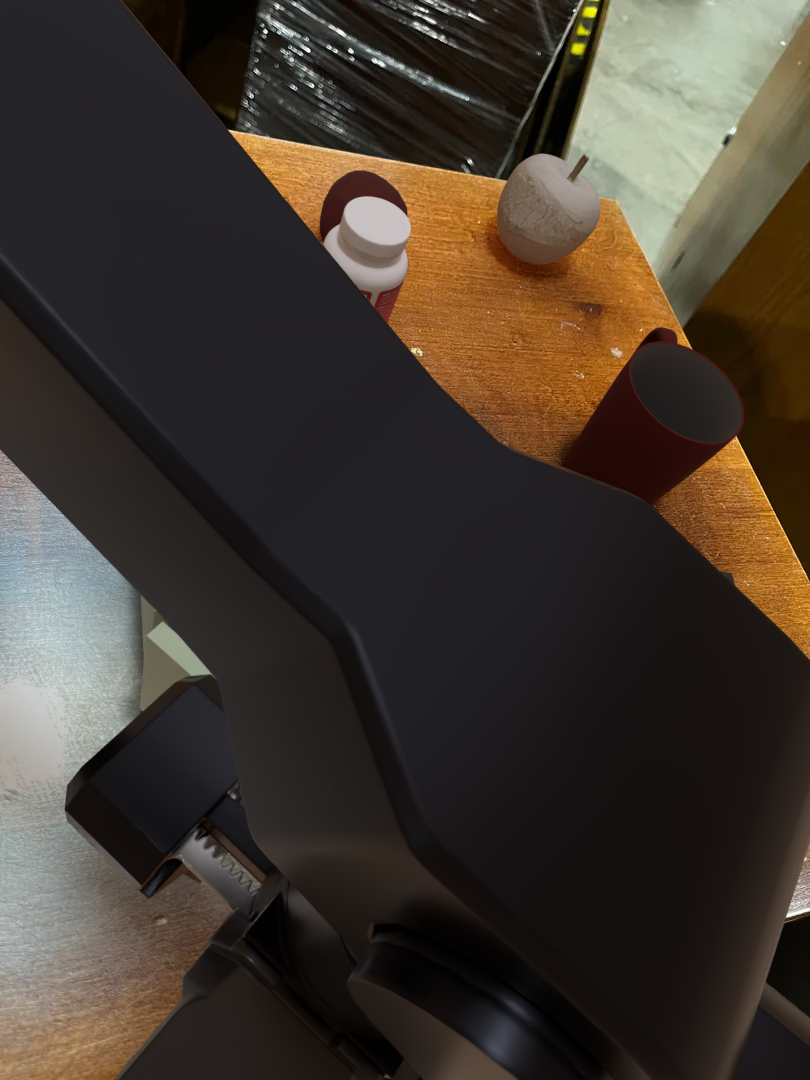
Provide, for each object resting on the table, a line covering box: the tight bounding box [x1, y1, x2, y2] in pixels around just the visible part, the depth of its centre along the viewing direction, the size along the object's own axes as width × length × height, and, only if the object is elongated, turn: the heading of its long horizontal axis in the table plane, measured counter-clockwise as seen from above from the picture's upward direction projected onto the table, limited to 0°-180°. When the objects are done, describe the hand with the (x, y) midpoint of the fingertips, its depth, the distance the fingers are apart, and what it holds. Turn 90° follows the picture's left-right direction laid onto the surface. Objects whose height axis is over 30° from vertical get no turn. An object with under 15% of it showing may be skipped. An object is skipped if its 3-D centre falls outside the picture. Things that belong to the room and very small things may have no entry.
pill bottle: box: [322, 197, 412, 324], centre depth 58 cm, size 6×6×11 cm
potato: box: [319, 169, 408, 244], centre depth 66 cm, size 7×8×6 cm
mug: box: [563, 326, 745, 507], centre depth 60 cm, size 12×9×11 cm
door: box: [139, 622, 216, 712], centre depth 38 cm, size 6×16×10 cm, turn 53°
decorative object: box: [496, 153, 602, 266], centre depth 71 cm, size 9×9×10 cm
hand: (288, 948), depth 33 cm, fingers open, 9 cm apart
